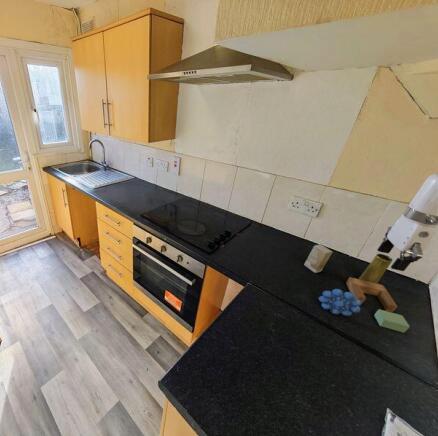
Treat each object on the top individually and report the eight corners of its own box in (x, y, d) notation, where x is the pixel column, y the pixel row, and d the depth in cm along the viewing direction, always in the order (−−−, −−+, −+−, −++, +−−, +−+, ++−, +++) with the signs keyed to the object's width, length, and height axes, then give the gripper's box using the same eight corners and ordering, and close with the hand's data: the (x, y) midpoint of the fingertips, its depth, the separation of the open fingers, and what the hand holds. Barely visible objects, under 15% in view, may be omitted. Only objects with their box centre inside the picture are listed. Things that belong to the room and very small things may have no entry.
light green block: (396, 321, 85) (402, 315, 83) (404, 332, 81) (410, 326, 79) (373, 315, 87) (378, 309, 86) (379, 325, 83) (385, 319, 81)
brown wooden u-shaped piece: (378, 290, 98) (383, 285, 97) (392, 312, 89) (397, 306, 87) (345, 282, 102) (349, 276, 100) (355, 302, 92) (359, 296, 91)
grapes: (352, 315, 87) (368, 293, 81) (350, 326, 83) (367, 304, 77) (317, 298, 94) (329, 276, 88) (313, 307, 90) (326, 286, 84)
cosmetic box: (303, 265, 112) (313, 245, 106) (309, 263, 113) (319, 243, 107) (315, 273, 107) (326, 253, 101) (322, 271, 108) (333, 251, 102)
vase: (374, 280, 104) (392, 256, 97) (377, 288, 99) (396, 263, 92) (357, 275, 107) (373, 251, 100) (360, 283, 102) (376, 258, 95)
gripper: (460, 233, 59) (419, 281, 68) (421, 206, 73) (390, 248, 82) (423, 226, 61) (387, 273, 70) (391, 202, 75) (365, 243, 84)
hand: (389, 260), depth 76 cm, fingers open, 9 cm apart
